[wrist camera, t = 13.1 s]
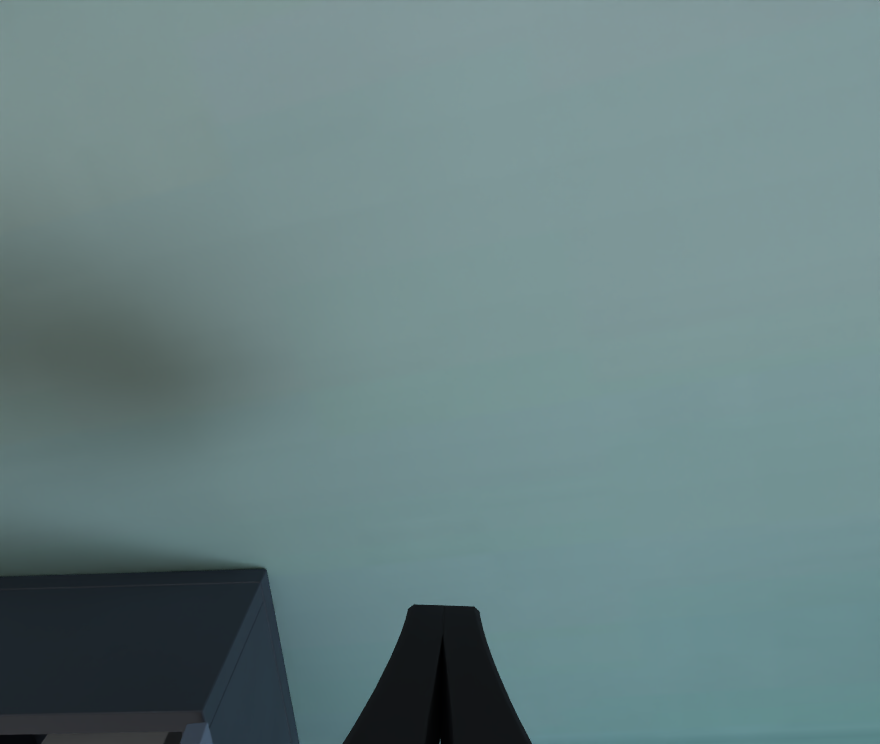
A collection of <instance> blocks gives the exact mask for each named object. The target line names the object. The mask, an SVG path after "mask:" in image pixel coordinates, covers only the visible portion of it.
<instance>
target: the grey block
mask: <svg viewBox="0 0 880 744" xmlns="http://www.w3.org/2000/svg"><path fill="white" fill-rule="evenodd" d="M181 739H182V732H134V733H78V734H47V736H46V737H45V739H44V740H43V742H42V743H41V744H180V741H181Z"/></svg>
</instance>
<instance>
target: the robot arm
mask: <svg viewBox="0 0 880 744" xmlns="http://www.w3.org/2000/svg"><path fill="white" fill-rule="evenodd" d="M440 741H441V744H532V743H531V741H530V739H529V737H528V735H527V733H526V731H525V729H524V727H523V726H522V724H521V722H520V720H519V718H518V716H517V714H516V712H515V709H514V707H513V705H512V703H511V701H510V699H509V697H508V694H507V692H506V690H505V687H504V685H503V683H502V680H501V678H500V676H499V673H498V671H497V668H496V666H495V663H494V661H493V658H492V655H491V652H490V650H489V647H488V644H487V641H486V637H485V634H484V631H483V627H482V623H481V618H480V612H479V611H478V610H477V609H476V608H475V607H471V606H443V605H415V604H414V605H413V606H411V607H410V608H409V609H408V612H407V616H406V620H405V623H404V626H403V629H402V631H401V634H400V637H399V639H398V642H397V644H396V646H395V648H394V651H393V653H392V655H391V658H390V660H389V662H388V664H387V666H386V668H385V670H384V672H383V674H382V676H381V678H380V680H379V682H378V684H377V686H376V688H375V690H374V692H373V693H372V695H371V697H370V699H369V700H368V702H367V704H366V706H365V707H364V709H363V711H362V713H361V714H360V716H359V718H358V719H357V721H356V723H355V725H354V726H353V728H352V730H351V731H350V733H349V734H348V736H347V737H346V739H345V741H344V742H343V744H439V743H440Z"/></svg>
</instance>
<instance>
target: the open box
mask: <svg viewBox="0 0 880 744" xmlns="http://www.w3.org/2000/svg"><path fill="white" fill-rule="evenodd" d="M204 722H207V723H208V726H209V729H210V733H211V737H212V741H213V744H299V740H298V735H297V729H296V724H295V719H294V713H293V708H292V703H291V697H290V692H289V687H288V681H287V676H286V671H285V665H284V660H283V655H282V649H281V644H280V639H279V633H278V628H277V623H276V618H275V612H274V607H273V602H272V596H271V591H270V586H269V580H268V575H267V570H266V569H247V570H214V571H180V572H147V573H114V574H81V575H47V576H14V577H0V744H41V743H42V742H43V740H44V739H45V737H46V736H47V734H78V733H134V732H182V736H183V733H184V731H185V728H186V725H187V724H193V723H204Z"/></svg>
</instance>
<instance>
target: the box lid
mask: <svg viewBox="0 0 880 744" xmlns="http://www.w3.org/2000/svg"><path fill="white" fill-rule="evenodd" d="M180 744H213V741H212V737H211V733H210V729H209V726H208V723H207V722H204V723H193V724H187V725H186V728H185V731H184V733H183V736H182V739H181V741H180Z"/></svg>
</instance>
